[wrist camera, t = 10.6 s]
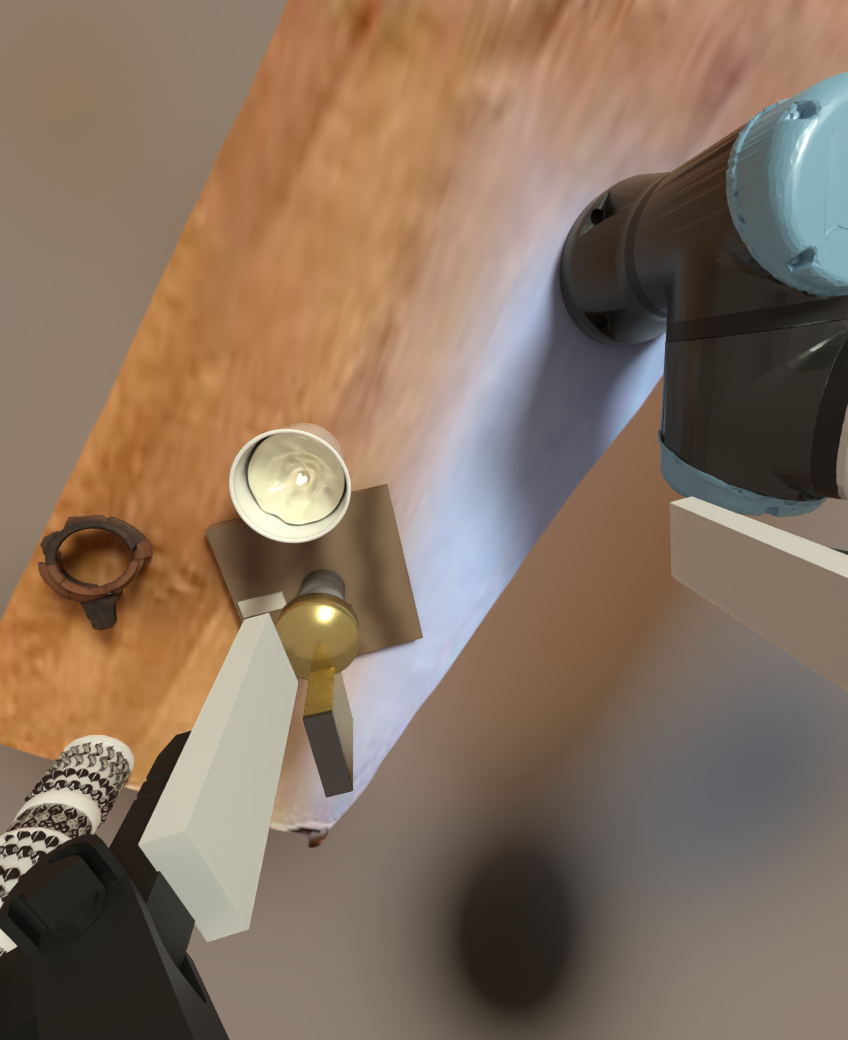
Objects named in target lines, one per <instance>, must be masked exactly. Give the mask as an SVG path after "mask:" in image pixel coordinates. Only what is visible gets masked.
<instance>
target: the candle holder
mask: <svg viewBox="0 0 848 1040" xmlns="http://www.w3.org/2000/svg"><path fill="white" fill-rule="evenodd" d="M229 490H230V496H231V499H232V502H233V505H234V507H235V509H236V511H237V512H238V514H239V515H240V517H241V518H242V519H243V521H244V522H245V523H246V524H247V525H248V526H249V527H251V528H252V529H253V530H254V531H256V532H257V533H259V534H261V535H263V536H265V537H267V538H269V539H272V540H275V541H279V542H285V543H302V542H308V541H311V540H314V539H317V538H319V537H321V536H323V535H325V534H327V533H328V532H329V531H331V530H332V529H333V528H334V527H335V526H336V525H337V524H338V523H339V522H340V521H341V519H342V518H343V516H344V514H345V513H346V510H347V508H348V505H349V502H350V497H351V481H350V476H349V473H348V470H347V466H346V462H345V457H344V453H343V450H342V448H341V446H340V444H339V442H338V441H337V439H336V438H335V437H334V436H333V435H332V434H331V433H330V432H329V431H327V430H326V429H324V428H322V427H320V426H318V425H315V424H311V423H294V424H290V425H287V426H284V427H281V428H279V429H276V430H272V431H268V432H265V433H263V434H260V435H258V436H257V437H255V438H253V439H252V440H250V441H249V442H248V443H247V444H246V445H245V446H244V447H243V448H242V449H241V450H240V451H239V453H238V454H237V456H236V458H235V459H234V462H233V464H232V467H231V470H230V475H229Z"/></svg>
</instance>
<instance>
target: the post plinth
mask: <svg viewBox="0 0 848 1040" xmlns="http://www.w3.org/2000/svg"><path fill="white" fill-rule="evenodd" d="M205 533H206V535H207V538H208V540H209V543H210V545H211V548H212V550H213V553H214V555H215V557H216V560H217V562H218V565H219V567H220V570H221V572H222V575H223V577H224V580H225V582H226V585H227V587H228V589H229V592H230V594H231V597H232V599H233V602H234V604H235V607H236V609H237V612H238V614H239V617H240V619H241V621H242V623H243V621H244V620H245V619H248V618H252V617H256V616H259V615H263V614H266V613H269V614H270V617H271V619H272V621H273V624H274V626H275V623H276V620H277V617H278V615H279V613H280V611H281V610H282V608H283V607H284V606H285V605H286V604H287V603H288V602H290V601H291V600H293V599H294V598H296V597H298V596H301V595H304V594H308V593H319V592H320V593H328V594H332V595H335V596H337V597H339V598H341V599H343V600H344V601H345V602H347V603H348V604H349V605H350V606H351V607H352V609H353V610H354V612H355V614H356V616H357V619H358V624H359V647H358V651H357V654H356V655H359V654H363V653H367V652H371V651H374V650H378V649H382V648H386V647H390V646H394V645H397V644H401V643H405V642H409V641H413V640H416V639H420V638H423V636H422V631H421V627H420V623H419V618H418V614H417V610H416V606H415V601H414V597H413V593H412V589H411V584H410V580H409V576H408V571H407V567H406V563H405V559H404V554H403V550H402V546H401V541H400V537H399V533H398V529H397V524H396V520H395V516H394V511H393V507H392V503H391V499H390V494H389V490H388V486H387V484H385V485H381V486H376V487H372V488H368V489H363V490H359V491H355V492H351V497H350V502H349V505H348V508H347V510H346V513H345V514H344V516H343V518H342V519H341V521H340V522H339V523H338V524H337V525H336V526H335V527H334V528H333V529H332V530H331V531H329V532H328V533H327V534H325V535H323V536H321V537H319V538H317V539H314V540H311V541H308V542H302V543H285V542H279V541H275V540H272V539H269V538H267V537H265V536H263V535H261V534H259V533H257V532H256V531H254V530H253V529H252V528H251V527H249V526H248V525H247V524H246V523H245V522H244V521H243V519H242V518H238V519H233V520H229V521H225V522H220V523H216V524H212V525H210V526H209V527H208V528H207V529H206V530H205Z"/></svg>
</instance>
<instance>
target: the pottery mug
mask: <svg viewBox="0 0 848 1040" xmlns="http://www.w3.org/2000/svg"><path fill="white" fill-rule="evenodd" d="M84 529H102V530H107V531H109V532H112V533H114V534H116V535H117V536H119V537H120V538H121V539H122V540H123V541H124V542H125V543H126V545H127V547H128V549H129V550H132V549H133V553H134V557H133V560H132V561H130V562H129V564H128V567H127V569H126V570H125V572H124V573H123V574H122V575H121V576H120V577H119V578H118V579H116V580H115V581H113V582H111V583H108V584H106V585H103V586H98V585H97V584H88V583H84V582H81V581H79V580H77V579H75V578H73V577H72V576H70V575H69V574H68V573H67V572H66V570H65V569H64V567H63V564H62V560H61V552H60V551H58V549H59V547H60V545H61V544H62V542H63V541H64V540H65V539H66V538H67V537H68V536H70V535H71V534H73V533H75V532H78V531H80V530H84ZM145 539H146V537H145V535H144V534H143V533H141V532H140V531H139V530H138V529H136V528H135V527H133V526H132V525H130V524H128V523H126V522H125V521H122V520H120V519H117V518H115V517H109V518H106V517H105V516H103V515H93V516H83V517H69V518H68V520H67V521H66V523H65V527H64V529H63V530H61V531H60V532H59V531H56V532H52V533H51V534H50V535H49V536H45V537H44V538H43V540H42V542H41V545H40V546H41V547H42V550H43V553H44V555H45V561H46V563H43V562H39V563H38V568H39V572H40V575H41V577H42V579H43V580H44V581H45V583H46V584H47V585H48V586H49V587H50V588H51V589H52V590H54V591H55V592H56V593H58V594H59V595H61V596H63V597H65V598H68V599H70V600H74V601H77V602H80V603H81V605H82V606H83V608H84V610H85V613H86V615H87V618H88V619H89V620H90V621H91V624H92V627H93V628H94V629H97V630H105V629H108V628H111V627H112V626H113V625H115V623H116V621H117V616H116V602H117V600H118V599H119V598H120V597H121V594H122V593H123V592H122V591H123V589H124V588H125V587H126V586H127V585H128V584H130V583H131V582H132V581H133V579H134V578H135V577H136V575H137V574H138V573H139V572H140V570H141V568H142V566H143V563H144V558H147V557H148V558H151V557H152V547H151V543H150V542H149V540H145Z"/></svg>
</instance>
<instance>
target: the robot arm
mask: <svg viewBox="0 0 848 1040" xmlns="http://www.w3.org/2000/svg"><path fill="white" fill-rule="evenodd" d="M560 278H561V289H562V295H563V299H564V302H565V305H566V308H567V310H568V312H569V314H570V316H571V318H572V319H573V321H574V322H575V324H576V325H577V326H578V327H579V328H580V329H581V330H582V331H583V332H584V333H585V334H586V335H588V336H589V337H591V338H592V339H594V340H596V341H598V342H601V343H604V344H608V345H630V344H638V343H642V342H646V341H649V340H651V339H654V338H656V337H658V336H660V335H662V334H663V333H665V332H666V342H665V358H664V376H663V393H662V411H661V412H662V413H661V428H660V430H659V431H658V441H659V444H660V446H661V472H662V476H663V478H664V479H665V481H666V482H667V483H668V484H669V485H670V487H671V488H672V489H673V490H675V491H676V492H677V493H679V494H680V495H682V496H684V497H686V498H685V499H681V500H677V501H674V502H670V526H671V529H670V530H671V565H672V577H673V578H675V579H676V580H678V581H679V582H681V583H683V584H684V585H686V586H687V587H689V588H690V589H692V590H693V591H695V592H696V593H698V594H699V595H701V596H702V597H704V598H705V599H707V600H708V601H710V602H711V603H713V604H714V605H716V606H717V607H719V608H720V609H722V610H723V611H725V612H727V613H728V614H729V615H731V616H733V617H734V618H736V619H737V620H739V621H740V622H742V623H743V624H745V625H747V626H748V627H749V628H751V629H752V630H754V631H756V632H757V633H758V634H760V635H761V636H763V637H764V638H766V639H767V640H769V641H770V642H772V643H774V644H775V645H777V646H778V647H780V648H781V649H783V650H784V651H786V652H787V653H789V654H790V655H792V656H793V657H795V658H796V659H798V660H799V661H801V662H802V663H804V664H805V665H807V666H808V667H810V668H812V669H813V670H814V671H816V672H817V673H819V674H821V675H822V676H824V677H825V678H827V679H828V680H830V681H831V682H833V683H834V684H836V685H837V686H839V687H841V688H842V689H843V690H845V691H846V692H848V551H843V550H838V549H833V548H828V547H825V546H822V545H819V544H816V543H813V542H811V541H809V540H806V539H804V538H801V537H798V536H796V535H792V534H790V533H788V532H785V531H782V530H780V529H777V528H774V527H772V526H769V525H766V524H764V523H761V522H758V521H756V520H753V519H750V518H748V517H745V516H742V515H740V514H745V515H753V516H761V515H762V514H763V513H766V514H770V515H773V516H776V517H785V516H786V517H787V516H797V515H801V514H806V513H810V512H812V511H814V510H816V509H817V508H818V507H820V506H821V504H822V503H823V502H825V501H826V500H827V498H836V499H843V500H848V72H845V73H841V74H837V75H834V76H831V77H829V78H826V79H824V80H822V81H820V82H818V83H816V84H814V85H812V86H810V87H809V88H807V89H805V90H803V91H802V92H800V93H798V94H796V95H794V96H793V97H791V98H789V99H785V100H782V101H780V102H777V103H776V104H774V105H771V106H769V107H767V108H765V109H764V110H763V111H762V112H760V113H758V114H757V115H755V116H754V117H753V118H752V119H751V120H750V121H749V122H748V123H746V124H745V125H743V126H741V127H740V128H738V129H737V130H735V131H734V132H732V133H731V134H729V135H728V136H726V137H725V138H723V139H721V140H720V141H718V142H717V143H715V144H714V145H712V146H711V147H709V148H708V149H706V150H705V151H703V152H701V153H700V154H698V155H697V156H695V157H694V158H692V159H691V160H689V161H688V162H686V163H684V164H683V165H681V166H680V167H678V168H677V169H675V170H674V171H672V172H666V173H654V174H643V175H638V176H633V177H630V178H628V179H625V180H623V181H621V182H619V183H617V184H615V185H613V186H612V187H610V188H609V189H607V190H606V191H605V192H603V193H602V194H601V195H599V196H598V197H597V198H595V199H594V200H593V201H592V202H591V203H590V204H589V205H588V206H587V207H586V208H585V209H584V210H583V211H582V213H581V214H580V215H579V217H578V218H577V220H576V221H575V223H574V225H573V227H572V229H571V231H570V233H569V235H568V238H567V241H566V243H565V247H564V250H563V255H562V261H561V272H560ZM737 513H738V514H737ZM297 688H298V681H297V678H296V676H295V674H294V671H293V669H292V666H291V664H290V662H289V659H288V657H287V655H286V652H285V650H284V647H283V645H282V643H281V640H280V638H279V636H278V633H277V631H276V629H275V626H274V624H273V621H272V619H271V617H270V614H269V613H266V614H263V615H259V616H256V617H252V618H248V619H245V620H244V621H243V623H242V625H241V627H240V630H239V632H238V634H237V636H236V638H235V640H234V642H233V644H232V647H231V649H230V651H229V653H228V655H227V657H226V659H225V661H224V664H223V666H222V668H221V670H220V672H219V674H218V676H217V678H216V681H215V683H214V685H213V687H212V689H211V691H210V693H209V695H208V698H207V700H206V702H205V704H204V706H203V708H202V710H201V712H200V714H199V717H198V719H197V721H196V723H195V725H194V727H193V729H192V731H188V732H185V733H182V734H178V735H176V736H175V737H174V738H173V739H172V740H171V742H170V743H169V744H168V745H167V746H166V747H165V748H164V750H163V751H162V752H161V753H160V754H159V755H158V757H157V759H156V760H155V762H154V764H153V766H152V768H151V770H150V772H149V774H148V776H147V777H146V778H147V781H145V782H144V783H143V785H142V787H141V789H140V791H139V793H138V795H137V800H135V801H134V802H133V804H132V806H131V808H130V810H129V811H128V813H127V815H126V817H125V819H124V821H123V823H122V825H121V827H120V829H119V830H118V832H117V834H116V836H115V838H114V840H113V842H112V844H111V845H110V847H109V848H108V847H107V846H106V844H105V843H104V842H103V840H102V839H100V838H99V837H98V836H97V835H96V834H84V835H81V836H78V837H76V838H73V839H70V840H68V841H66V842H64V843H63V844H61V845H59V846H58V847H56V848H55V849H53V850H52V851H50V852H48V853H47V854H46V855H45V856H44V857H42V858H41V859H40V860H39V861H38V862H37V863H36V864H34V865H33V866H32V867H31V868H30V869H29V870H28V871H27V872H26V873H25V874H24V875H23V876H22V878H21V879H20V880H19V881H18V882H17V883H16V885H15V886H14V887H13V888H12V889H11V891H10V892H9V894H8V896H7V898H6V899H5V901H4V903H3V904H2V906H1V908H0V929H1V930H2V931H3V932H4V933H5V934H6V935H7V936H8V937H9V938H10V939H11V940H12V941H13V942H14V943H15V944H16V945H17V947H16V948H14V949H12V950H11V951H9V952H7V953H6V954H4V955H2V956H1V957H0V1040H229V1038H228V1036H227V1033H226V1031H225V1029H224V1027H223V1025H222V1023H221V1020H220V1018H219V1016H218V1014H217V1012H216V1010H215V1007H214V1005H213V1003H212V1001H211V999H210V997H209V994H208V992H207V990H206V988H205V986H204V984H203V982H202V979H201V977H200V975H199V973H198V971H197V968H196V966H195V964H194V962H193V960H192V959H191V957H190V956H189V955H188V953H187V952H186V950H187V947H188V944H189V940H190V937H191V934H192V930H193V927H194V924H195V925H196V927H197V928H198V930H199V931H200V932H201V934H202V935H203V937H204V938H205V940H206V941H207V942H210V941H213V940H216V939H220V938H223V937H226V936H229V935H232V934H236V933H239V932H241V931H245V930H248V929H249V926H250V921H251V916H252V911H253V906H254V901H255V896H256V891H257V886H258V881H259V876H260V871H261V867H262V862H263V856H264V851H265V847H266V841H267V837H268V832H269V827H270V822H271V817H272V812H273V807H274V802H275V797H276V792H277V787H278V782H279V777H280V772H281V767H282V762H283V757H284V752H285V747H286V742H287V737H288V732H289V727H290V722H291V717H292V712H293V707H294V702H295V697H296V693H297Z"/></svg>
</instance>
